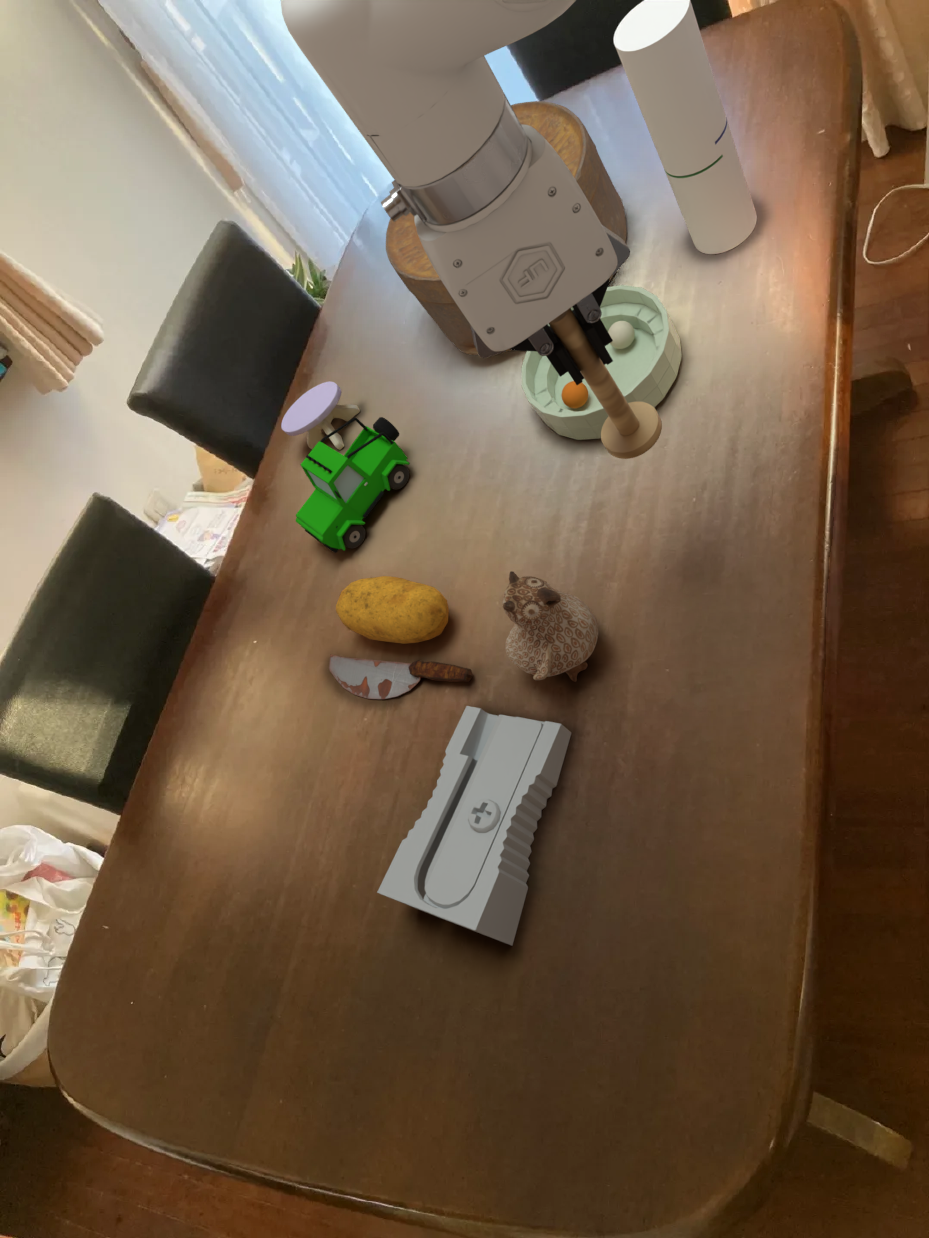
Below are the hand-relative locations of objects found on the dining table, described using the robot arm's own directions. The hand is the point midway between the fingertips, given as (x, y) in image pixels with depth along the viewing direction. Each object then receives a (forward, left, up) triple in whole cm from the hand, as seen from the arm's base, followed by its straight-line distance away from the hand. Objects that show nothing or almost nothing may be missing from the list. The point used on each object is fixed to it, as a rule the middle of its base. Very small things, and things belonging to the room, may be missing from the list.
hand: (588, 361), depth 62 cm
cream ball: (-3, -26, -23) cm, 35 cm away
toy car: (+33, -28, -25) cm, 50 cm away
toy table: (+36, -44, -25) cm, 62 cm away
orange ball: (+4, -21, -23) cm, 32 cm away
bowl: (0, -23, -25) cm, 34 cm away
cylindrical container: (-19, -33, -25) cm, 46 cm away
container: (+2, -47, -25) cm, 53 cm away
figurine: (+16, +7, -25) cm, 31 cm away
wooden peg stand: (0, 0, -10) cm, 10 cm away
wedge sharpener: (+29, +19, -25) cm, 43 cm away
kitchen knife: (+36, -1, -25) cm, 44 cm away
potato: (+32, -7, -25) cm, 41 cm away
